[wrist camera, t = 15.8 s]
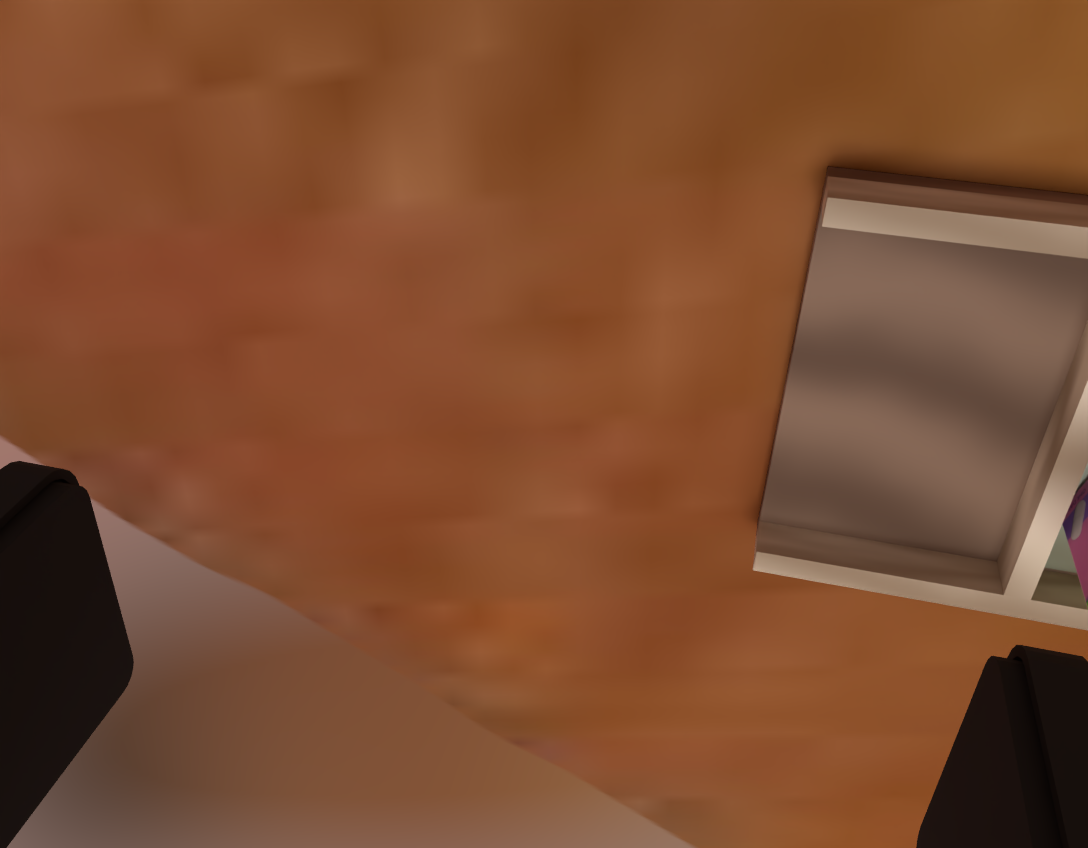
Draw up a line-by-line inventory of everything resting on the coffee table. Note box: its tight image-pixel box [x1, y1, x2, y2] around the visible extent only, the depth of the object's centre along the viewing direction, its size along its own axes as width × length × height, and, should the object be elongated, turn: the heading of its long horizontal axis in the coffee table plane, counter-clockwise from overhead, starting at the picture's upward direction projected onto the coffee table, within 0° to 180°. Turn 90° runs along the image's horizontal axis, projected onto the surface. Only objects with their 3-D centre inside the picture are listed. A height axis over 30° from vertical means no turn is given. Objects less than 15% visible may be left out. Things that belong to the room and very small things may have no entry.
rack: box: [753, 166, 1088, 630], centre depth 37 cm, size 16×20×3 cm
